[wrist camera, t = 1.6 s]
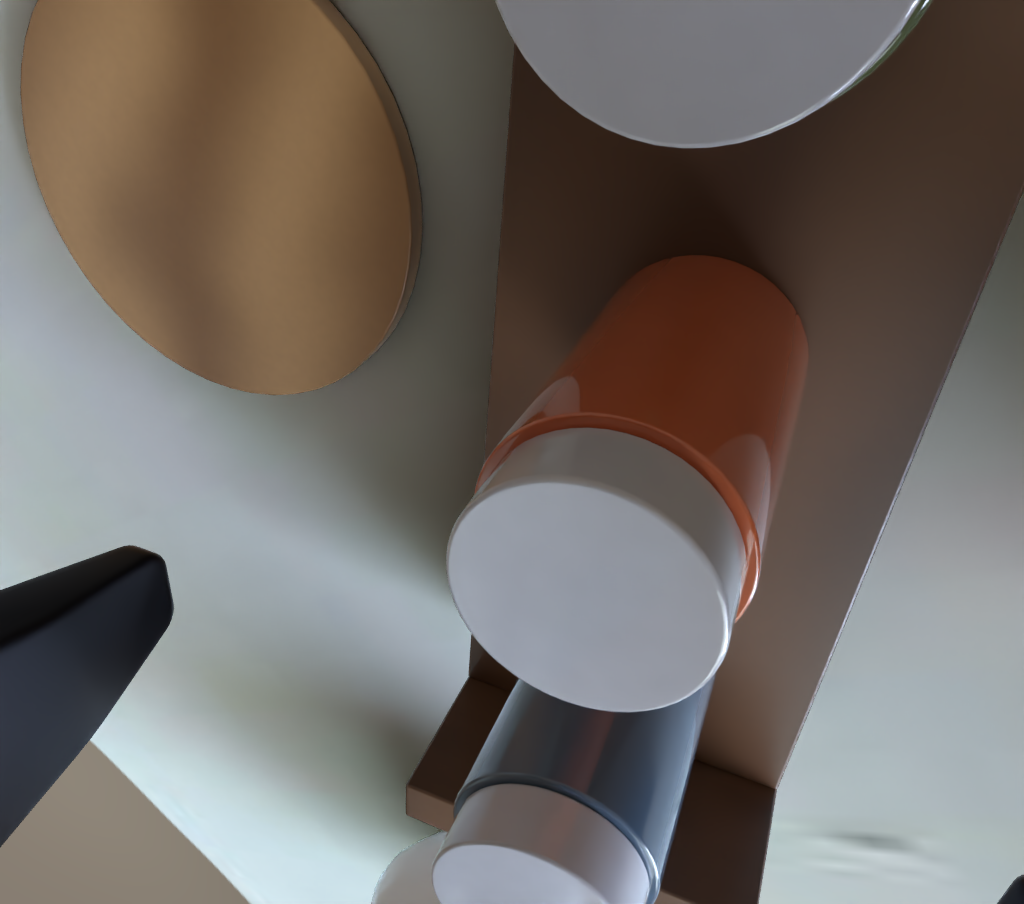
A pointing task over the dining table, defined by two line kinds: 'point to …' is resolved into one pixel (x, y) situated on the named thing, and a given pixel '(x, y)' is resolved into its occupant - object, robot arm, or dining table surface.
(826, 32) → the cylinder
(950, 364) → the spice shelf
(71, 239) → the cork trivet
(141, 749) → the dining table surface
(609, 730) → the cylinder
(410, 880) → the flower vase
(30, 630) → the robot arm
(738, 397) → the terracotta shaker
